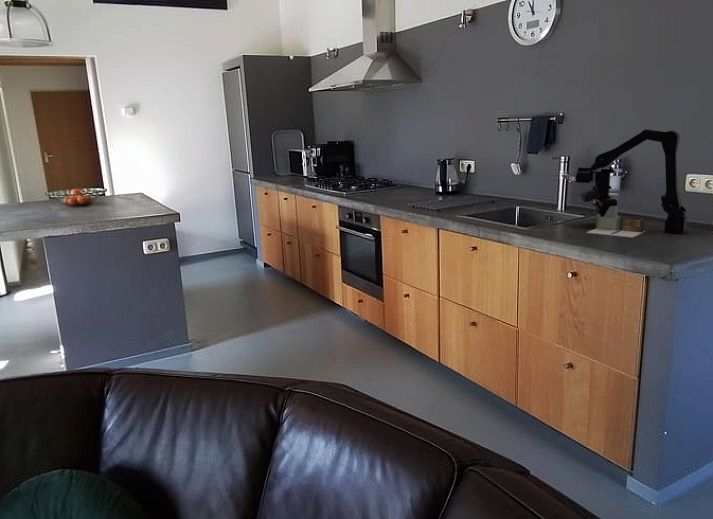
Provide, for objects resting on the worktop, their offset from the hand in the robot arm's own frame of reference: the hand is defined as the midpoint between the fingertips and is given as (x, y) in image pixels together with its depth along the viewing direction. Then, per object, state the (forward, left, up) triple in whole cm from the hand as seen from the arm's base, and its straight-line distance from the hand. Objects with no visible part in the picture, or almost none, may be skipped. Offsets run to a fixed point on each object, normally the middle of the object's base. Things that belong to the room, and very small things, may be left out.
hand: (600, 220), depth 233 cm
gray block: (+4, -18, -3) cm, 19 cm away
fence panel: (-5, +4, -3) cm, 6 cm away
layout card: (-10, +8, -3) cm, 13 cm away
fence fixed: (-14, +4, -3) cm, 15 cm away
